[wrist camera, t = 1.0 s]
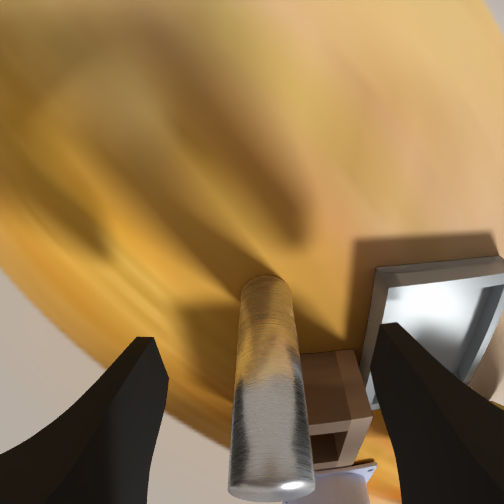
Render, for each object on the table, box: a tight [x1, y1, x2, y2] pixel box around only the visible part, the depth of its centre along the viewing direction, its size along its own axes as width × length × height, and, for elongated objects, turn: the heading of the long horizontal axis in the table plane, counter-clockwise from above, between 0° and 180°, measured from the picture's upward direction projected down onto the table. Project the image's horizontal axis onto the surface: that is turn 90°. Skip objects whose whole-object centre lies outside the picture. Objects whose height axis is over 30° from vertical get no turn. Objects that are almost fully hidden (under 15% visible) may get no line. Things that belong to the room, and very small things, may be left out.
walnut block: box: [300, 349, 373, 470], centre depth 14 cm, size 5×5×4 cm
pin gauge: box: [228, 275, 316, 502], centre depth 9 cm, size 2×2×8 cm
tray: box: [359, 256, 504, 410], centre depth 13 cm, size 8×7×2 cm
